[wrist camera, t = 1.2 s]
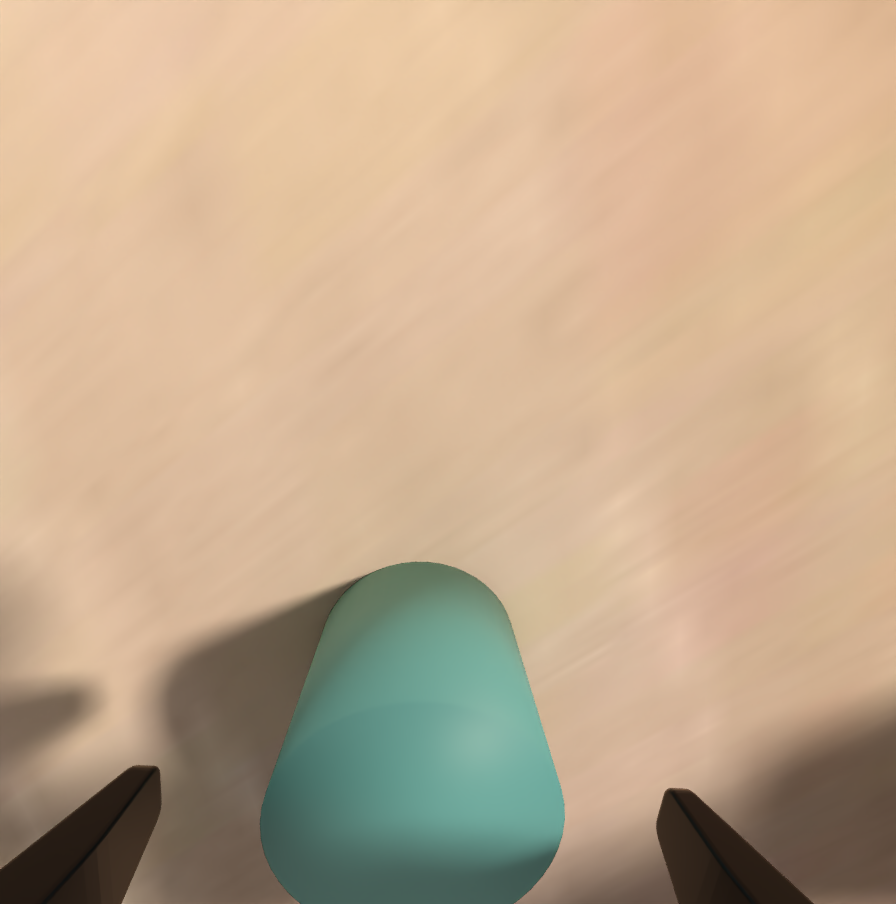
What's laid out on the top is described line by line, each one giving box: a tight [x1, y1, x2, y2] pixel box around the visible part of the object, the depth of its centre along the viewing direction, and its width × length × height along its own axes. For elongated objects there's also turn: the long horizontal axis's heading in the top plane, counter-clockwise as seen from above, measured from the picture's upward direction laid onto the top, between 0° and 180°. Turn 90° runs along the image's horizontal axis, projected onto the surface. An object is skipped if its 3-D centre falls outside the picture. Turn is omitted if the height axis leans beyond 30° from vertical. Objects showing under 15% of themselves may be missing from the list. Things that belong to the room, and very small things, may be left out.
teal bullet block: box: [260, 562, 565, 904], centre depth 10 cm, size 5×5×4 cm
